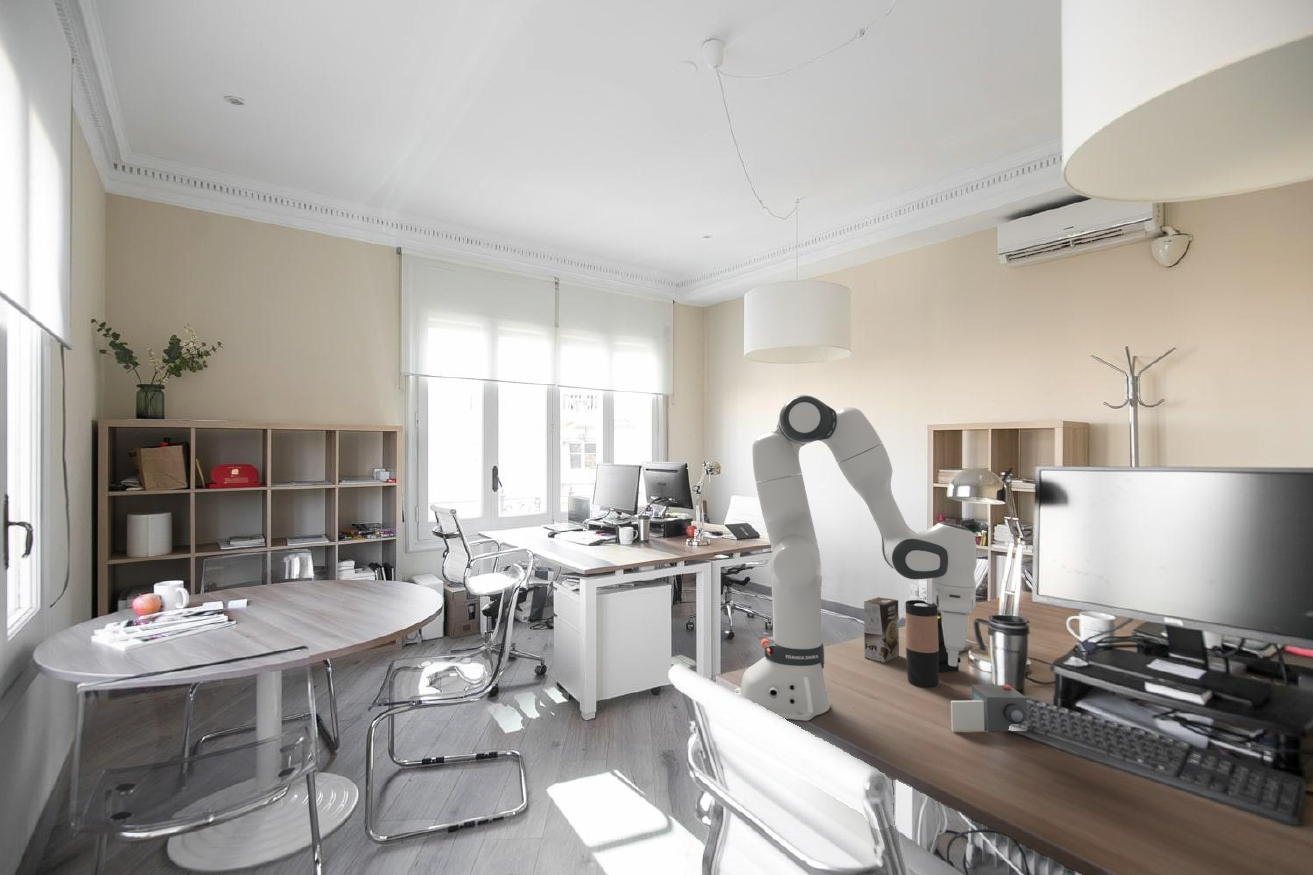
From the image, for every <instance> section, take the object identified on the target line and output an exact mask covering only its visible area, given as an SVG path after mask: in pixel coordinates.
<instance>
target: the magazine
mask: <svg viewBox="0 0 1313 875" xmlns="http://www.w3.org/2000/svg"><path fill="white" fill-rule="evenodd" d="M937 615H938V643H939V673H950V672H951V673H952V672H953V673H954V672H955V673H956V672H959V671H960V670H959V663H961V658H960V657H959V656H958V664H957V666H956V667H955V666H950V665H949V664H948V653H947V652H946V647H945V644H944V636H943V629H942V617H941V613H940V612H937Z"/></svg>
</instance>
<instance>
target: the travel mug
mask: <svg viewBox="0 0 1313 875" xmlns="http://www.w3.org/2000/svg"><path fill="white" fill-rule="evenodd" d="M937 613H938V609H937V605H936V604H935V603H933V602H932V603H927V601H925V600H921V599H909V600H907V601H905V649H906V650H905V654H906V669H907V672H906V673H907V682H908V683H909V684H910V683H911V685H912V684H913V686H916V687H920V688H924V689H925V688H926V689H931V688H932V689H933V688H936V687H938V686H939V673H940V672H939V643H938V615H937Z"/></svg>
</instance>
